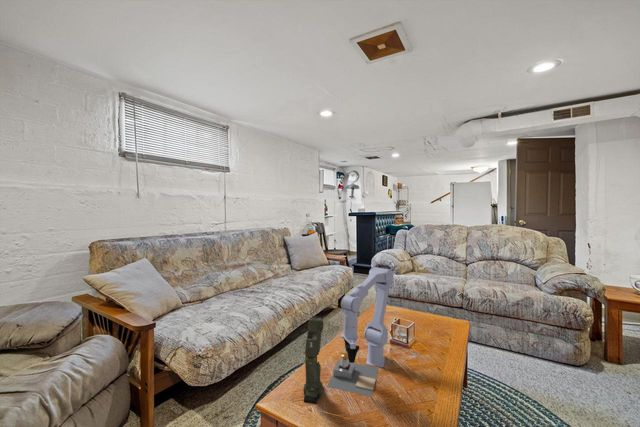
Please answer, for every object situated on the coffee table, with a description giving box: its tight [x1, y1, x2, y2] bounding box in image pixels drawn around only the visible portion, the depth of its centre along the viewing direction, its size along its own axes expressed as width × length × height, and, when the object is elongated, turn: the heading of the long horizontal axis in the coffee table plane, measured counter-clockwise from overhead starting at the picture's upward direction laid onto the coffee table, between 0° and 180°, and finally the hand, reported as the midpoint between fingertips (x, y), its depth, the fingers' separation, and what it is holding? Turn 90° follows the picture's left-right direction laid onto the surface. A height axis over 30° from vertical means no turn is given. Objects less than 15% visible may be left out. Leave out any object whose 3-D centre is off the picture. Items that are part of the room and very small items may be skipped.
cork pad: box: [356, 376, 377, 392], centre depth 112 cm, size 7×7×1 cm
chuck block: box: [332, 359, 356, 380], centre depth 119 cm, size 8×8×3 cm
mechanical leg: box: [303, 315, 324, 405], centre depth 107 cm, size 14×7×30 cm, turn 169°
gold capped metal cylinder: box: [340, 352, 349, 370], centre depth 119 cm, size 3×3×8 cm
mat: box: [326, 362, 379, 398], centre depth 117 cm, size 20×18×1 cm
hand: (350, 357), depth 114 cm, fingers open, 7 cm apart
